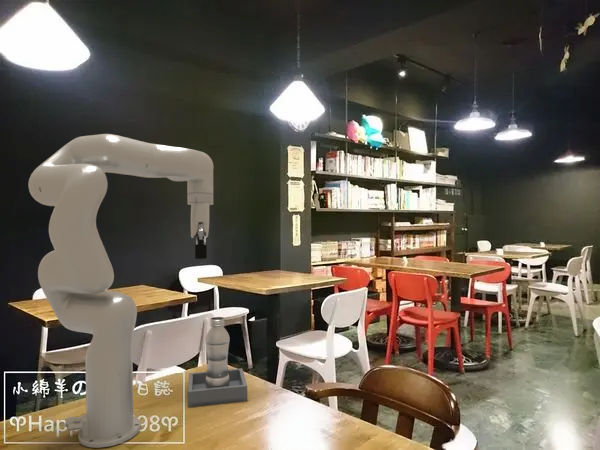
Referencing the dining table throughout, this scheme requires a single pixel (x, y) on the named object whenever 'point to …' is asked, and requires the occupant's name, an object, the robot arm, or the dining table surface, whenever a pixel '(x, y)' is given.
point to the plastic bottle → (217, 354)
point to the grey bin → (216, 389)
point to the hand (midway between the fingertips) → (200, 257)
